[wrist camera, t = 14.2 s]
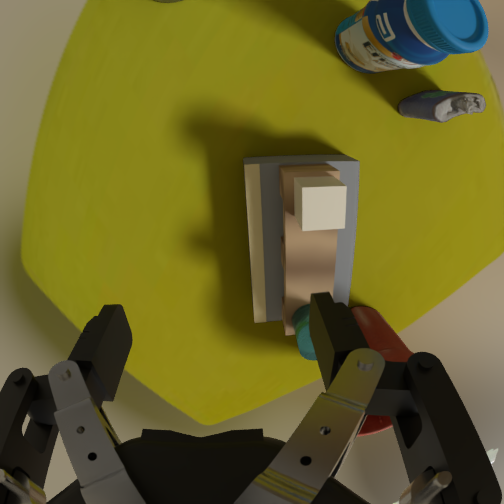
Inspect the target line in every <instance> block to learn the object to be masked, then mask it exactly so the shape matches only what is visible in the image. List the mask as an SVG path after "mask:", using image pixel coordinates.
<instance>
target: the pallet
mask: <svg viewBox="0 0 504 504" xmlns="http://www.w3.org/2000/svg"><path fill="white" fill-rule="evenodd" d="M318 176H334V177H335V178H337V179H338V180H339V181H340V171H339V170H337V169H336V168H334V167H333V166H331V165H330V164H301V165H279V190H280V195H281V197H282V199H283V232H284V236H283V237H281V262H282V266H283V269H284V296H283V297H282V320H283V325H284V330H285V335H295V332H294V328H293V324H292V316H293V314H294V312H295V311H296V310H297V309H298V308H300V307H301V306H304V305H307V304H310V296H311V293H318V292H328V291H329V292H330V294H331V296H332V298H333V288H334V277H335V264H336V250H337V234H338V229H329V230H313V231H302V230H301V228H300V226H299V224H298V222H297V220H296V218H295V212H294V177H318Z"/></svg>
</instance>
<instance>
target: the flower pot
mask: <svg viewBox="0 0 504 504" xmlns="http://www.w3.org/2000/svg"><path fill="white" fill-rule="evenodd" d="M351 311H352V313H353V314H354V316H355V319H356V320H357V322H358V325H359V326H360V328H361V330H362V332H363V334H364V336H365V338H366V340H367V343H368V345H369V347H370V349H372V350H375V351H377V352H378V353H380V354H381V355H382V356H383V358H384V360H387V361H392V362H407V361H408V358H409V357H410V356H411V355H412V354H414V353H413V352H411V351H410V350H409V349H408V348H407V347H406V345H405V344H404V343H403V342H402V340H401V339H400V338H399V336H398V335H397V334H396V333H395V331H394V330H393V329H392V328H391V327H390V325H389V324H388V323H387V322H386V320H385V319H384V318H383V317H382V315H381V314H380V313H379V312H378V311H376V310H375V309H372V308H370V307H364V306H359V307H353V308H352V309H351ZM392 426H393V425H392V422H391V419H390V416H380V415H367V417H366V419H365V421H364V423H363V425H362V427H361V429H360V431H359V433H358V435H357V436H365V435H370V434H374V433H377V432H381V431H383V430H385V429H388V428H390V427H392Z"/></svg>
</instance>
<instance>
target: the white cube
mask: <svg viewBox="0 0 504 504" xmlns="http://www.w3.org/2000/svg"><path fill="white" fill-rule="evenodd" d="M346 191H347V186H346V185H345V184H343V183H342V182H341V181H339V180H338V179H337V178H335V177H334V176H318V177H294V212H295V218H296V220H297V222H298V224H299V226H300V228H301V230H302V231H313V230H329V229H345V215H346Z"/></svg>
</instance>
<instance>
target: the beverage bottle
mask: <svg viewBox="0 0 504 504" xmlns="http://www.w3.org/2000/svg"><path fill="white" fill-rule="evenodd" d="M487 38H488V22H487V18H486V15H485V12H484V10H483V8H482V6H481V4H480V2H479V1H478V0H370V1H369V2H368V4H367V5H366V6H365V7H364V8H362V9H361V10H360V11H358V12H357V13H355V14H354V15H352V16H350V17H348V18H346V19H345V20H344V21H342V22H341V23H340V25H339V26H338V28H337V30H336V33H335V44H336V48H337V51H338V53H339V55H340V56H341V58H342V59H343V60H344V61H345V62H346V63H347V64H348V65H349V66H350V67H352V68H353V69H355V70H357V71H360V72H363V73H378V72H382V71H387V70H394V69H401V68H408V69H412V68H418V67H422V66H425V65H433V64H436V63H439V62H440V61H442V60H443V59H445V58H446V57H447V56H448V55H449V54H461V53H471V52H474V51H477V50H479V49H480V48H482V47H483V45H484V44H485V43H486V41H487Z"/></svg>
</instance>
